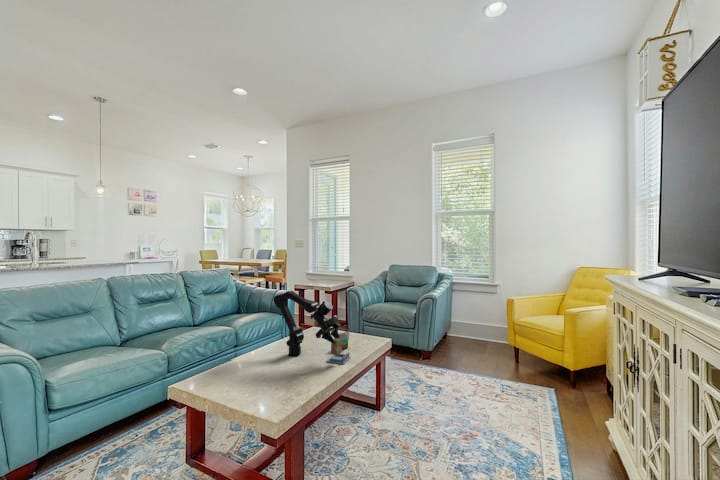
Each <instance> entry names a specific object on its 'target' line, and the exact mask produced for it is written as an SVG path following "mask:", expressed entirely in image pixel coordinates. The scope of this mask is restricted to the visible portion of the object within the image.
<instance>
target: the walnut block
mask: <svg viewBox="0 0 720 480" xmlns="http://www.w3.org/2000/svg"><path fill="white" fill-rule="evenodd" d="M333 339H334V341H335V343H334V344H333V343H331V342H330V346H331V347H330V355H332V356H333V355H339V354H343V350H342V339H340V338H333Z"/></svg>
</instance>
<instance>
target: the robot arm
mask: <svg viewBox="0 0 720 480" xmlns="http://www.w3.org/2000/svg"><path fill="white" fill-rule="evenodd" d="M289 300H291V301H293V302H295V303H296V304H298V306H301V307H302V308H303V310H304V311H305V312H307V313H308V314H310V316H309V317H310V318H309V319H310V320H315V322H316V323H317V325H316V326H317V327H318V328H319V327H320V329H319V330H317V332H316V333H315V338H316V339H320V338H321V339H324V340H326V341H328V342H330V344H331V343H333V344H334V343H335V341H334V339H335V338H340V337H339V334H340V333H339V328H340V327H341V326H342V325H341V323H340V322H339V317H338V316H337V314H336V315H333V316H332V317H331V318H329V317H326V316H327V315H329V313H330V312H331V311H332V310H333V309H334V308H333V307H334V306H333V305H332V303H330V302H329V301H327V300H323V301H322V302H321V304H320V303H318V302H316V301H314V300H310V299H306V298H305V297H303V296H301V295H299V294H298V293H296V292H294V291H293V290H288V291H285V292H284V293H280V294H276V295H274V297H273V303H274V305H275V306H276V307H277V308H278V309H279V310H280V311H281V314H282V317H283V319H284V321H285V323H286V326H287V328H288V330H289V331H288V337H289V339H288V340H287V341H286V342H285V343H286V346H287V347H288V353H287V356H288V357H289V356H290V357H299V356H300V355H301V353H302V346H301V344H302V343H303V342H304V338H305V335H304V332H303V329H302V328H301V327H300V328H299V327H298V326H297V324H296V322H295V319H294V318H293V314H292V312H291V311H290V308H289Z"/></svg>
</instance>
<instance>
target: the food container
mask: <svg viewBox="0 0 720 480" xmlns="http://www.w3.org/2000/svg"><path fill="white" fill-rule="evenodd" d="M338 334H339V337H340V339H342V351H343V350H348V348H349V339H350V336H351V334H350V331H349V330H345V332H339V333H338Z"/></svg>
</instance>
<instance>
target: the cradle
mask: <svg viewBox="0 0 720 480" xmlns="http://www.w3.org/2000/svg"><path fill="white" fill-rule="evenodd" d="M351 358H352V356H351V355H350V352H347V353H340V354H339V355H333V354H332V355H331V356H329V358H327V360H326V363H330V364H331V363H332V364H338V365H345V364H346V363H347V362H348V361H349V360H350V359H351Z"/></svg>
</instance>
